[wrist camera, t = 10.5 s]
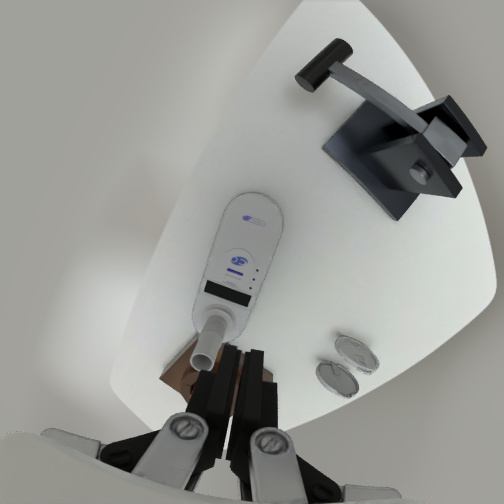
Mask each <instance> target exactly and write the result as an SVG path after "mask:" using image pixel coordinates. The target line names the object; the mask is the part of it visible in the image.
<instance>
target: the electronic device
mask: <svg viewBox="0 0 504 504" xmlns="http://www.w3.org/2000/svg"><path fill="white" fill-rule="evenodd" d="M283 225H284V222H283V215H282V212H281V210H280V208H279V206H278V205H277V204H276V202H274V201H273V200H272V199H271V198H269V197H268V196H265V195H262V194H259V193H245V194H242V195H240V196H238V197H236V198H235V199H233V200H232V201H231V202H230V203H229V204H228V206H227V207H226V209H225V211H224V214H223V217H222V220H221V223H220V226H219V229H218V232H217V235H216V238H215V241H214V244H213V247H212V250H211V253H210V256H209V259H208V262H207V265H206V268H205V272H204V275H203V278H202V281H201V284H200V287H199V291H198V294H197V297H196V300H195V304H194V307H193V311H192V321H193V324H194V327H195V328H196V330H197V331H198V332H199V334H200V335H199V339H198V343H197V345H196V347H195V349H194V351H193V354H192V356H191V358H190V363H191V365H192V367H193V368H194V369H196V370H198V371H200V370H201V369H202V370H207V371H210V370H211V369H212V368H213V366H214V363H215V359H216V356H217V353H218V350H219V348H220V347H221V345H222V343H225V342H229V341H233V340H234V339H236V338H237V337H239V336H240V335H241V333H242V332H243V330H244V328H245V326H246V323H247V321H248V318H249V316H250V313H251V311H252V309H253V306H254V304H255V301H256V299H257V296H258V293H259V291H260V288H261V286H262V283H263V281H264V278H265V276H266V273H267V271H268V268H269V265H270V263H271V260H272V258H273V255H274V252H275V250H276V247H277V245H278V242H279V239H280V237H281V234H282V231H283Z"/></svg>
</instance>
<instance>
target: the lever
mask: <svg viewBox="0 0 504 504" xmlns="http://www.w3.org/2000/svg"><path fill="white" fill-rule="evenodd" d="M352 54H353V49H352V47H351V46H350V45H349V44H348V43H347V42H346V41H344V40H342V39H339V38H336V39H334V40H333V41H332V42H331V43H330V44H329V45H327V46H326V47H325V48H324V49H323V50H322V51H321V52H320V53H319V54H317V55H316V56H315V57H314V58H313V59H312V60H311V61H310V62H309V63H308V64H307V65H306V66H305V67H304V68H303V69H302V70H300V71H299V72H298V73H297V74H296V75H295V80H296V81H297V83H298V84H299V85H300V86H301V87H302V88H304V89H305V90H307V91H309V92H315V91H316V90H317V88H318V87H319V86H320V85H321V84H322V83H323V82H324V81H325V80H326V79H327V78H328V77H329V76H330V77H332V78H334V79H335V80H337V81H339V82H340V83H342V84H344V85H345V86H347V87H348V88H350V89H351V90H353V91H355V92H356V93H358V94H359V95H361V96H362V97H364V98H365V99H367V100H368V101H369V102H371V103H372V104H374V105H375V106H377V107H378V108H379V109H381V110H382V111H383V112H385V113H386V114H387V115H389V116H390V117H391V118H393V119H394V120H395V121H397V122H398V123H399V124H400V125H402V126H403V127H404V128H405V129H407V130H408V131H409V132H410V133H411V134H413V135H415V134H418V133H422V134H423V135H424V136H425V137H426V139H427V140H428V141H429V142H430V143H431V145H432V146H433V147H434V148H435V150H436V151H437V152H438V154H439V155H440V156H441V157H442V159H443V160H444V161H445V163H446V164H447V166H448V167H449V168H450V170H451V169H452V168H453V167H454V166H455V165H456V163H457V162H458V160H459V159H460V157H461V156H462V154H463V153H464V151H465V150H466V148H467V146H468V145H467V144H466V143H465V142H464V141H463V140H462V139H461V138H460V137H459V136H458V135H457V134H456V133H455V132H454V131H453V130H451V129H450V128H449V127H448V126H447V125H446V124H445V123H444V122H443V121H441V120H440V119H439V118H438V117H437V116H436V117H435V118H434V119H433V121H432V122H431V123H430V124H428V123H427V122H425V121H424V120H423V119H422V118H421V117H419V116H418V115H417V114H416V113H414V112H413V111H412V110H410V109H409V108H408V107H407V106H405V105H404V104H403V103H401V102H400V101H399V100H397V99H396V98H395V97H393V96H392V95H390V94H389V93H387V92H386V91H385V90H383V89H382V88H380V87H379V86H377V85H376V84H374V83H373V82H371V81H370V80H368V79H366V78H365V77H363V76H362V75H360V74H358V73H357V72H355V71H353V70H352V69H350V68H348V67H346V66H345V65H343V63H344V62H345V61H346V60H347V59H348V58H349V57H350V56H351V55H352Z"/></svg>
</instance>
